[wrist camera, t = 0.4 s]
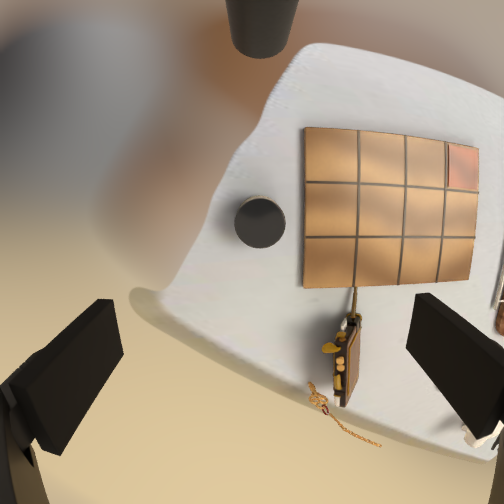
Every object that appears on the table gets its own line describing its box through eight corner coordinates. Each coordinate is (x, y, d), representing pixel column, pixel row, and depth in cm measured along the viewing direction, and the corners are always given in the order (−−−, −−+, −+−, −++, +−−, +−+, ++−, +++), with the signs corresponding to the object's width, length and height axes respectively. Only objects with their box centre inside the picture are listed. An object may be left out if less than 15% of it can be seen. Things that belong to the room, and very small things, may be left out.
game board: (303, 128, 32) (305, 126, 31) (474, 148, 32) (479, 148, 31) (302, 285, 37) (303, 289, 35) (464, 277, 37) (469, 280, 35)
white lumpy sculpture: (495, 382, 45) (463, 408, 40) (523, 399, 38) (495, 431, 32) (479, 412, 48) (444, 441, 42) (504, 430, 40) (472, 464, 34)
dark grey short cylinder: (236, 195, 34) (233, 198, 30) (281, 195, 34) (285, 198, 30) (237, 240, 35) (235, 248, 31) (281, 239, 35) (285, 248, 31)
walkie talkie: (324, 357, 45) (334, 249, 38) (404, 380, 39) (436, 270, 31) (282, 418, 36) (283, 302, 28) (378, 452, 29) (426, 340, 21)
